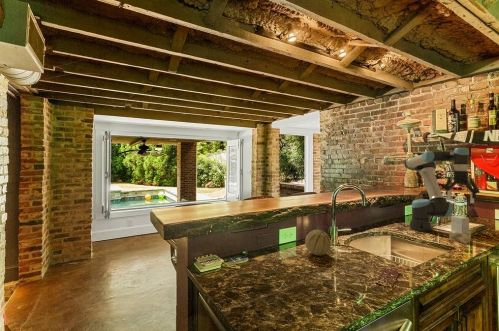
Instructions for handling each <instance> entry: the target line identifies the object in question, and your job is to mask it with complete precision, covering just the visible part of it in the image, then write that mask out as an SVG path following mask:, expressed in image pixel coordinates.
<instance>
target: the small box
mask: <svg viewBox="0 0 499 331" xmlns="http://www.w3.org/2000/svg"><path fill="white" fill-rule="evenodd" d="M450 216H451V217H450V218H451V219H450V220H451V221H450V226H451V227H450V228H451V229H450V231H454V232H458V233H461V234H468V233H469V232H470V218H469V217H466V216H461V215H450Z"/></svg>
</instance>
